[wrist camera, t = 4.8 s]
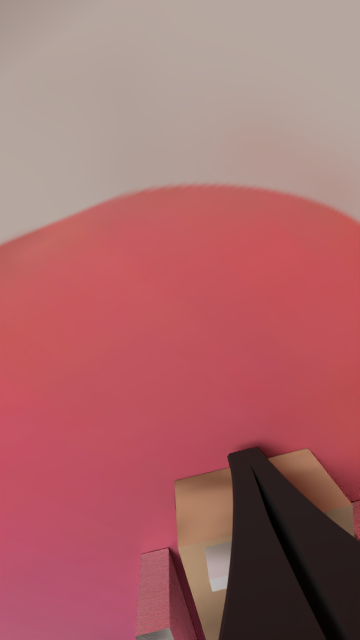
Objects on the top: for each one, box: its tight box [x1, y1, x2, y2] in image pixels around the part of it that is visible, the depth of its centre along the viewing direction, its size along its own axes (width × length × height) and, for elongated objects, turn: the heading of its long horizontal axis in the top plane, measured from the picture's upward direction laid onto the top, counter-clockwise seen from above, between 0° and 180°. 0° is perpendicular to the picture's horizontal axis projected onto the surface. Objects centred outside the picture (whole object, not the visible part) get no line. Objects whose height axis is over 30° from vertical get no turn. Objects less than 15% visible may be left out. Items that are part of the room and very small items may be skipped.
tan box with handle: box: [175, 448, 355, 640], centre depth 11 cm, size 7×6×4 cm
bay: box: [135, 501, 360, 640], centre depth 13 cm, size 12×12×3 cm
